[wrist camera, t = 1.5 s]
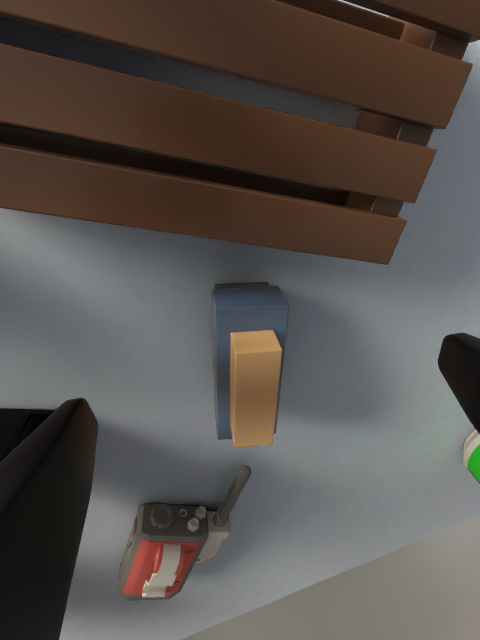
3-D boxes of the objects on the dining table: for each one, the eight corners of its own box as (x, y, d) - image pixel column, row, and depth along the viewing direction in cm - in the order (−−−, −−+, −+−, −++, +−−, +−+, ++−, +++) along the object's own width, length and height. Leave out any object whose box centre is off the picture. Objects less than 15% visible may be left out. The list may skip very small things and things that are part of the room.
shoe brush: (263, 393, 27) (283, 458, 21) (212, 398, 26) (220, 466, 21) (272, 275, 22) (301, 323, 16) (209, 278, 21) (219, 328, 16)
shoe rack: (344, 235, 21) (388, 265, 16) (-76, 166, 16) (-175, 182, 12) (424, 3, 16) (520, -44, 11) (-162, -206, 11) (-402, -437, 6)
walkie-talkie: (195, 571, 39) (255, 455, 30) (196, 619, 35) (266, 503, 26) (115, 571, 36) (156, 444, 28) (108, 623, 33) (153, 496, 24)
